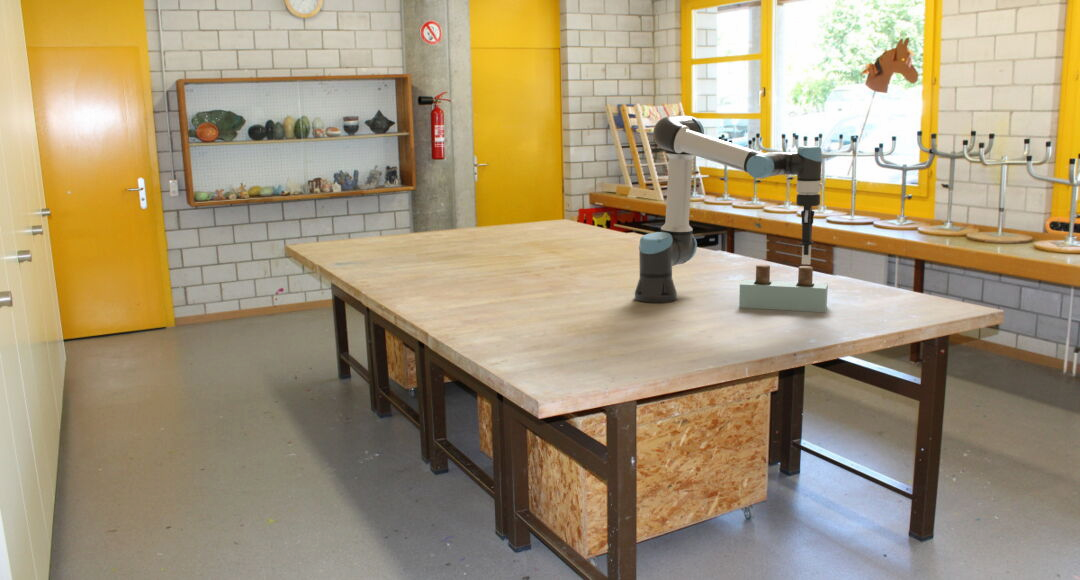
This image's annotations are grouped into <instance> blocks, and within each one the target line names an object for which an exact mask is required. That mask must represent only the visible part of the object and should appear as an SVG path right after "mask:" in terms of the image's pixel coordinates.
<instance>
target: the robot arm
mask: <svg viewBox="0 0 1080 580" xmlns="http://www.w3.org/2000/svg"><path fill="white" fill-rule="evenodd" d="M652 136H653V140H654V143H655V144H656V145H657V146H658V147H659V148H661V149H663V150H664V153H665V155H666V156H667V158H668V170H667V171H668V172H667V184H666V202H665V203H666V206H665V222H664V224H663V225H662V226H661V227H660V231H655V232H650V233H646V234H644V235H642V236H641V237H640V239H639V246H638V250H639V279H638V281H637V284H636V285H637V286H636V288H635V289H634V290H635V291H634V300H636V301H638V302H642V303H651V304H652V303H653V304H654V303H655V304H656V303H657V304H659V303H660V304H661V303H662V304H663V303H670V302H674V301H677V298H678V292H677V289H676V286H675V283H674V279H673V267H674V266H677V265H678V266H679V265H684V264H685V263H687V262H689V261H691V260H692V258H694V256H695V255H696V252H697V249H698V242H697V239H696V238H695V235H694V234H693V229H694V228H693V227H692V226H691V225H690V212H691V210H690V209H691V193H692V192H691V191H692V178H693V177H692V176H693V164H694V162H693V161H694V158H696V157H699V158H701V159H704V160H708V161H711V162H714V163H717V164H719V165H723V166H726V167H729V168H732V169H735V170H739V171H742V172H745V173H747V174H748V175H749V176H751V177H753V178H755V179H765V178H766V179H767V178H769V177H775V176H786V175H787V176H796V193H797V194H796V200H795V201H796V205H797V206H799V207H803V210H801V211H800V217H801V227H802V229H801V231H802V232H801V233H802V234H801V242H800V243H799V245H800V246H801V247H802V248H801V265H807V266H808V265H811V260H812V259H811V258H812V257H811V256H812V253H811V252H812V245H814V242H813V241H812V240H813V239H812V236H813V224H814V216H815V210H813V207H818V206H819V205H821V194H820V193H821V187H823V183H822V182H821V179H822V165H823V164H822V162H823V159H822V154H823V151H822V150H823V149H822V148H821V147H820V146H818V145H802V146H799V147H798V148H797V151H792V152H789V151H767V152H765V153H764V152H760V151H757V150H754V149H751V148H749V147H744V146H742V145H739V144H735V143H732V142H729V141H726V140H722V139H719V138H716V137H712V136H710V135H706V134H705V127H704V126H703V123H702V122H701V121H700V120H699V119H698V118H696V116H695V117H694V116H691V115H674V116H672V115H670V116H665V117H662V118H661V119H660V120H658V121H657V122H656V124H655V126H654V128H653V131H652Z"/></svg>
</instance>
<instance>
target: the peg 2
mask: <svg viewBox="0 0 1080 580" xmlns="http://www.w3.org/2000/svg"><path fill="white" fill-rule="evenodd" d="M813 270H814V267H813V266H808V265H805V266H804V265H802V266H801V265H800V266H798V273H797V276H798V279H797V282H798V286H802V287H812V283H813V276H814V273H813V272H814V271H813Z"/></svg>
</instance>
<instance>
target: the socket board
mask: <svg viewBox="0 0 1080 580" xmlns="http://www.w3.org/2000/svg"><path fill="white" fill-rule="evenodd" d="M828 285H829V283H823V282H812V287H802V286H798V281H783V280H781V281H780V280H770V285H761V284H756V279H743V280H742V281H741V282H740V283H739V302H738V304H739V308H743V309H745V308H746V309H763V310H775V311H776V310H779V311H781V310H782V311H797V312H815V313H826V311H827V307H828V290H829V289H828V287H829V286H828Z"/></svg>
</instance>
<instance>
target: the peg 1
mask: <svg viewBox="0 0 1080 580" xmlns="http://www.w3.org/2000/svg"><path fill="white" fill-rule="evenodd" d="M770 277H771V265H770V264H756V266H755V280H756V284H761V285H770V281H771V280H770V279H771V278H770Z"/></svg>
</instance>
